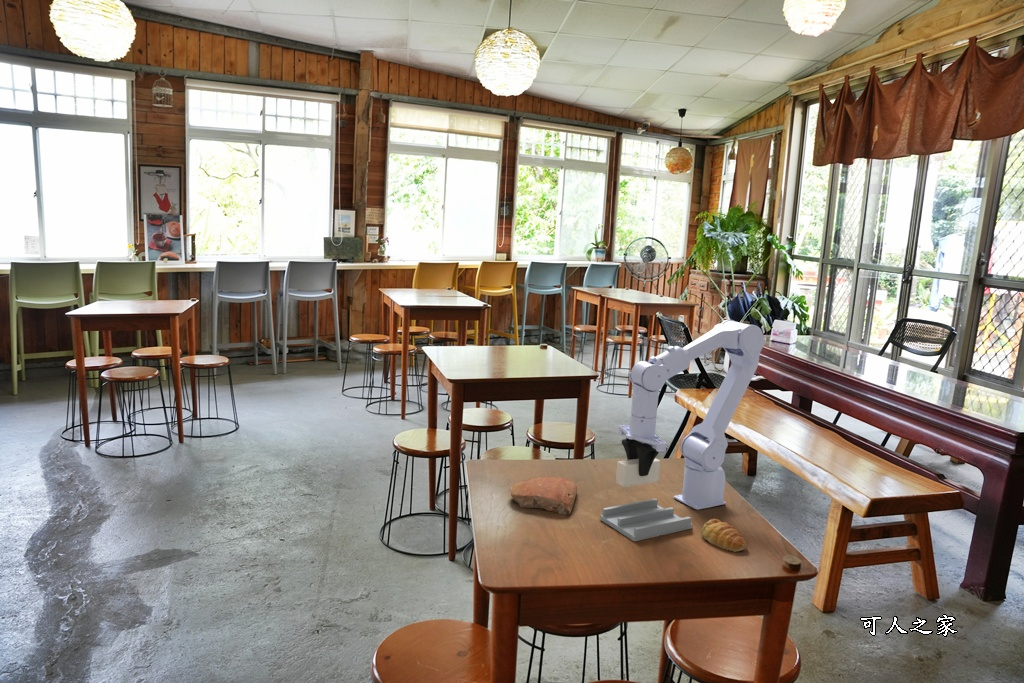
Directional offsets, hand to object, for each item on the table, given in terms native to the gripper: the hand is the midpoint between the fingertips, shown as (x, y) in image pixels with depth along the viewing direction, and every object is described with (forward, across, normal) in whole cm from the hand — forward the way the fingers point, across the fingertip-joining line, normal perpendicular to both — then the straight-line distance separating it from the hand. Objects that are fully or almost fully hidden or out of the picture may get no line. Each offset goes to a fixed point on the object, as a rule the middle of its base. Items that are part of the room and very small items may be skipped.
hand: (638, 472), depth 158 cm
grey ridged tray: (+8, +8, -4) cm, 12 cm away
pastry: (+9, +21, +6) cm, 24 cm away
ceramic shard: (+9, -12, -18) cm, 23 cm away
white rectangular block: (+2, 0, 0) cm, 2 cm away
